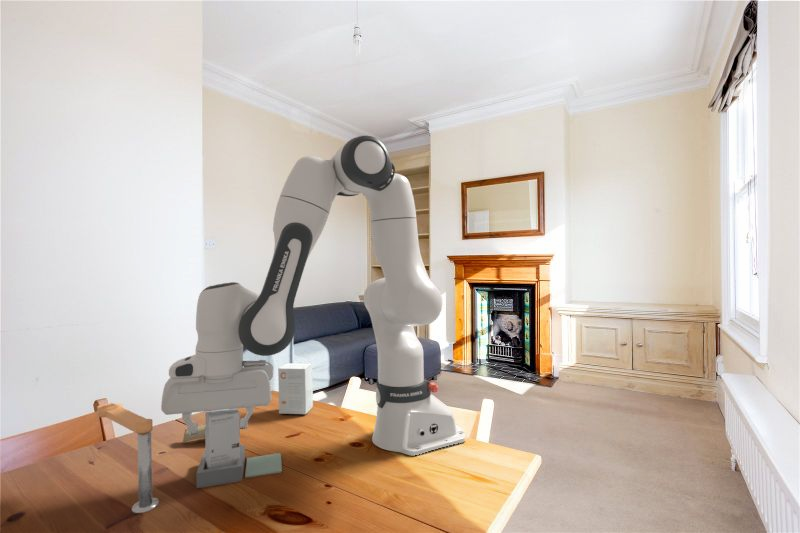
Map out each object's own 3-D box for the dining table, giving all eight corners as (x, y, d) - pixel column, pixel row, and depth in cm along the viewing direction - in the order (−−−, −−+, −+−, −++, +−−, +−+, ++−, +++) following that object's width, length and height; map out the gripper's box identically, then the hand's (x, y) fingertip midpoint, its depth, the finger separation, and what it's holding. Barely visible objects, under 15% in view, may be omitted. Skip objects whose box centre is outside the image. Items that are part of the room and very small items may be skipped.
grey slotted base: (244, 458, 87) (244, 444, 87) (241, 481, 78) (241, 466, 78) (204, 464, 85) (204, 450, 85) (196, 489, 75) (196, 473, 75)
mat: (280, 454, 89) (280, 452, 89) (281, 472, 81) (281, 470, 81) (247, 459, 87) (247, 457, 87) (245, 478, 79) (245, 476, 79)
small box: (313, 406, 119) (312, 363, 119) (305, 414, 112) (305, 368, 112) (287, 406, 120) (286, 362, 120) (278, 414, 113) (277, 368, 113)
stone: (233, 430, 102) (233, 411, 101) (235, 440, 96) (235, 420, 96) (183, 438, 96) (183, 419, 96) (182, 450, 91) (182, 429, 91)
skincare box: (207, 481, 78) (207, 419, 78) (204, 471, 82) (203, 412, 82) (241, 471, 81) (240, 412, 81) (236, 462, 85) (235, 405, 85)
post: (161, 499, 72) (160, 426, 72) (155, 512, 69) (154, 435, 68) (135, 503, 71) (134, 429, 71) (128, 516, 67) (127, 438, 67)
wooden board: (92, 413, 78) (92, 405, 78) (116, 407, 81) (116, 399, 81) (134, 436, 67) (133, 427, 67) (159, 428, 71) (159, 419, 71)
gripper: (273, 356, 87) (272, 419, 87) (167, 362, 81) (166, 430, 81) (273, 362, 81) (272, 430, 81) (159, 369, 75) (158, 443, 75)
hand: (218, 430), depth 81 cm, fingers open, 8 cm apart
